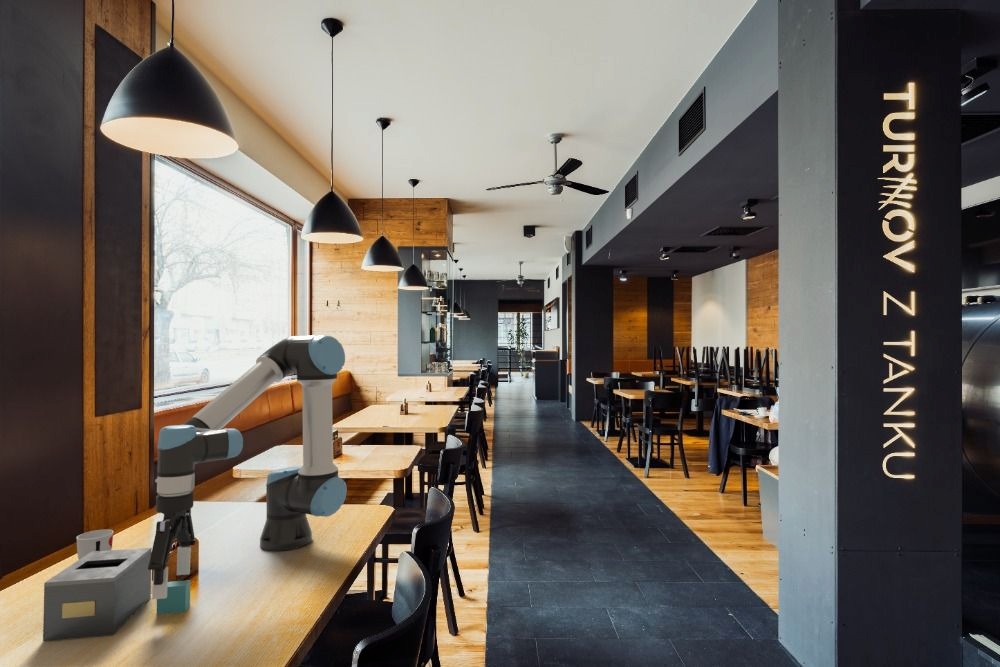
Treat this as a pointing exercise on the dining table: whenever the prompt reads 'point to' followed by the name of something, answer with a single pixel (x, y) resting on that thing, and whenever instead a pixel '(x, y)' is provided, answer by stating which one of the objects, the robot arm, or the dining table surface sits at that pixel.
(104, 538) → the cup
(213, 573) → the dining table surface
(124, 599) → the tip box
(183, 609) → the teal rectangular block
